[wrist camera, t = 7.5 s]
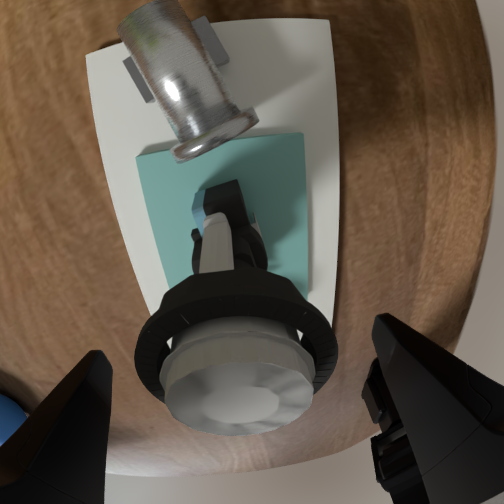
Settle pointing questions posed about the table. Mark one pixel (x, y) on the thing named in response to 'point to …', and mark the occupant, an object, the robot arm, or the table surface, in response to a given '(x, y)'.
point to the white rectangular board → (232, 158)
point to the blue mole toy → (9, 417)
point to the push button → (234, 331)
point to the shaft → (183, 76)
